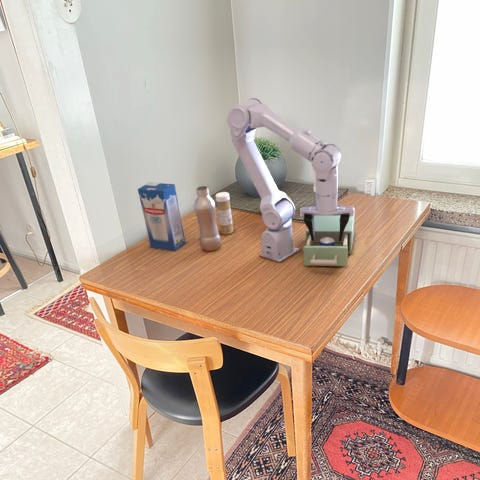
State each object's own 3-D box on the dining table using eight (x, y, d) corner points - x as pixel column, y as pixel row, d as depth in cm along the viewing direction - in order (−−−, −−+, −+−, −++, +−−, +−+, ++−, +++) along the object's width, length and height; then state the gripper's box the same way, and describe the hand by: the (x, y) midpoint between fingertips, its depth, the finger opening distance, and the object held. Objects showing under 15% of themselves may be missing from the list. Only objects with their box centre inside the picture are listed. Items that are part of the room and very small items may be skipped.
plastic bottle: (219, 253, 152) (210, 191, 141) (198, 253, 153) (188, 192, 142) (223, 244, 157) (215, 184, 146) (204, 244, 159) (194, 184, 147)
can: (337, 253, 139) (337, 239, 137) (328, 259, 137) (328, 244, 134) (325, 250, 142) (325, 235, 139) (316, 255, 140) (316, 241, 137)
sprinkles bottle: (228, 228, 168) (223, 190, 160) (236, 231, 165) (231, 193, 157) (217, 232, 165) (212, 194, 158) (225, 236, 162) (220, 197, 155)
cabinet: (351, 254, 142) (351, 231, 138) (306, 253, 145) (305, 231, 141) (354, 233, 153) (354, 212, 149) (312, 233, 157) (311, 212, 153)
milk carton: (150, 247, 161) (137, 189, 150) (161, 239, 166) (149, 182, 155) (175, 250, 157) (163, 191, 146) (185, 242, 161) (174, 184, 150)
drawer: (345, 274, 131) (346, 256, 128) (301, 273, 134) (301, 255, 131) (350, 245, 145) (350, 227, 142) (310, 244, 148) (309, 227, 145)
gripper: (355, 187, 131) (353, 233, 138) (301, 188, 134) (303, 233, 142) (353, 196, 125) (352, 244, 133) (298, 197, 129) (299, 243, 136)
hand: (326, 239), depth 137 cm, fingers open, 7 cm apart
